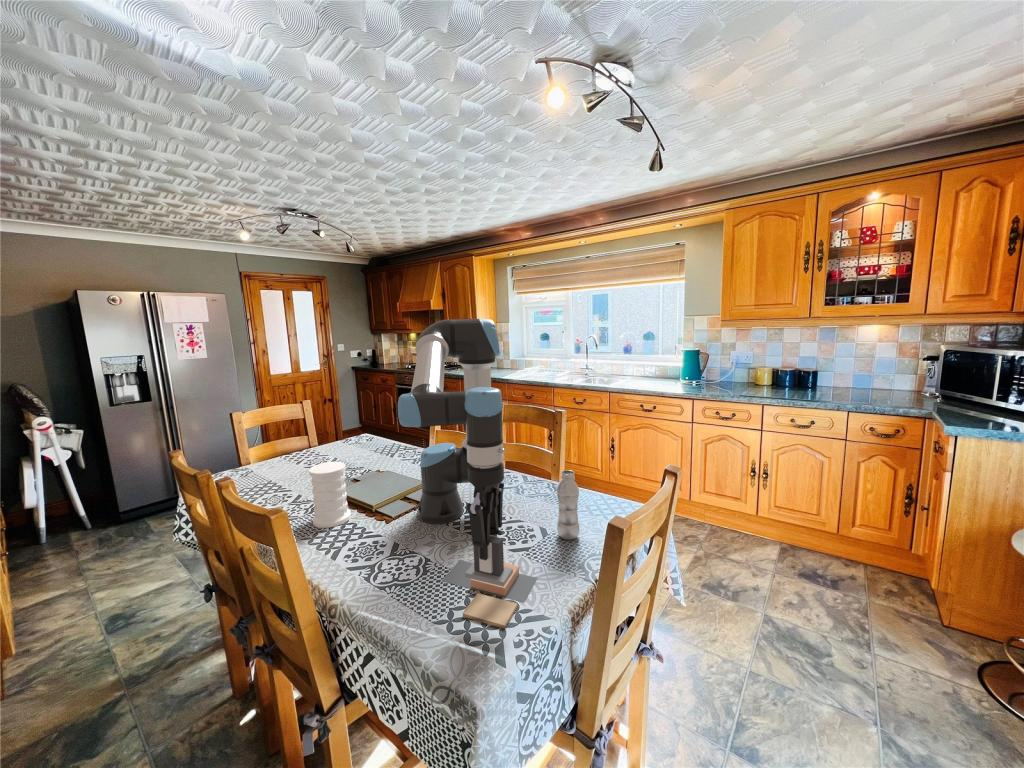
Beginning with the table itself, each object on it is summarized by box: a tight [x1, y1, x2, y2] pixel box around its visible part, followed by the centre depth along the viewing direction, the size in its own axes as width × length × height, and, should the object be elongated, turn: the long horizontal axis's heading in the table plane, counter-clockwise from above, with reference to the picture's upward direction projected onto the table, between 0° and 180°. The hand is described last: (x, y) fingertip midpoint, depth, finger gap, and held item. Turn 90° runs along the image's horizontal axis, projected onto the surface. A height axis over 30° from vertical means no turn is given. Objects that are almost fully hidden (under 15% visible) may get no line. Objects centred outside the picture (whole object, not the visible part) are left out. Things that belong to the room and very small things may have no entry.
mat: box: [440, 559, 539, 603], centre depth 99 cm, size 22×10×1 cm, turn 68°
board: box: [462, 592, 518, 630], centre depth 88 cm, size 10×7×1 cm
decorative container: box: [308, 461, 352, 529], centre depth 132 cm, size 12×12×18 cm
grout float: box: [465, 536, 513, 587], centre depth 86 cm, size 9×5×8 cm, turn 68°
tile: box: [470, 562, 520, 596], centre depth 98 cm, size 2×9×9 cm
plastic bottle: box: [556, 469, 580, 541], centre depth 118 cm, size 6×7×20 cm
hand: (489, 567), depth 86 cm, fingers closed on grout float, 2 cm apart
